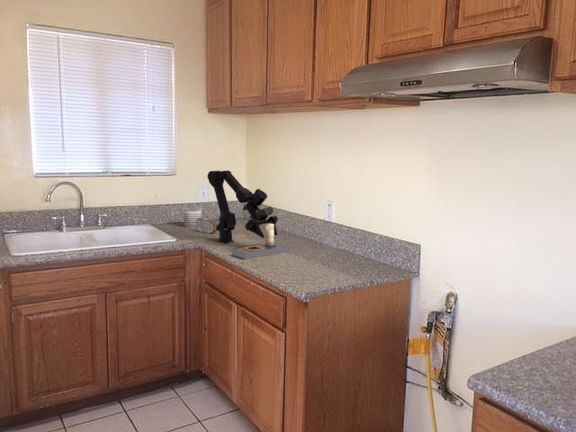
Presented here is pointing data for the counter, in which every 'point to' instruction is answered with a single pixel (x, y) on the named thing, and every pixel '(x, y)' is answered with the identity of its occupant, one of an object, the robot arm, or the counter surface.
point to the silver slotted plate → (260, 250)
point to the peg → (269, 235)
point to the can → (191, 216)
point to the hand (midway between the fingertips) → (270, 236)
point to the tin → (206, 225)
